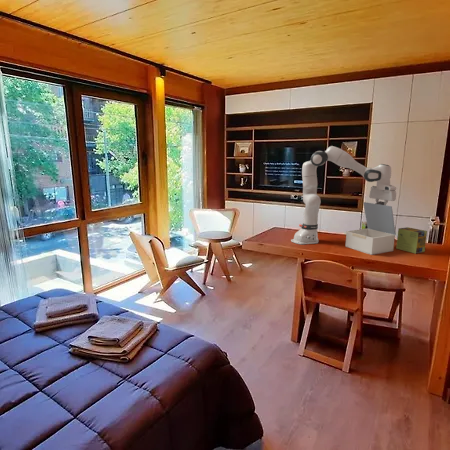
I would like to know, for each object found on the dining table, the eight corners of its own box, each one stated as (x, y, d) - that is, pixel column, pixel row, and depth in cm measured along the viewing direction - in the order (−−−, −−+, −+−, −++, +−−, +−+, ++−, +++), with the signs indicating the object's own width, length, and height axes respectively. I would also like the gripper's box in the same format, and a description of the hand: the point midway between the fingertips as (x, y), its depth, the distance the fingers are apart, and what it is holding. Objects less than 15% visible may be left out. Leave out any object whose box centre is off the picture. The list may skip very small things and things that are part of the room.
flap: (391, 206, 226) (396, 203, 227) (363, 202, 247) (368, 199, 249) (394, 234, 233) (400, 231, 235) (367, 228, 254) (372, 225, 256)
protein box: (416, 253, 228) (418, 232, 225) (395, 248, 241) (398, 228, 238) (425, 251, 233) (427, 230, 230) (404, 246, 246) (407, 226, 243)
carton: (371, 254, 226) (372, 238, 223) (345, 246, 247) (346, 231, 245) (393, 250, 235) (394, 234, 233) (366, 243, 256) (367, 228, 254)
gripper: (368, 185, 243) (366, 204, 246) (392, 188, 225) (390, 207, 228) (374, 185, 246) (372, 203, 249) (398, 187, 228) (396, 207, 231)
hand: (381, 205), depth 238 cm, fingers closed on flap, 4 cm apart
